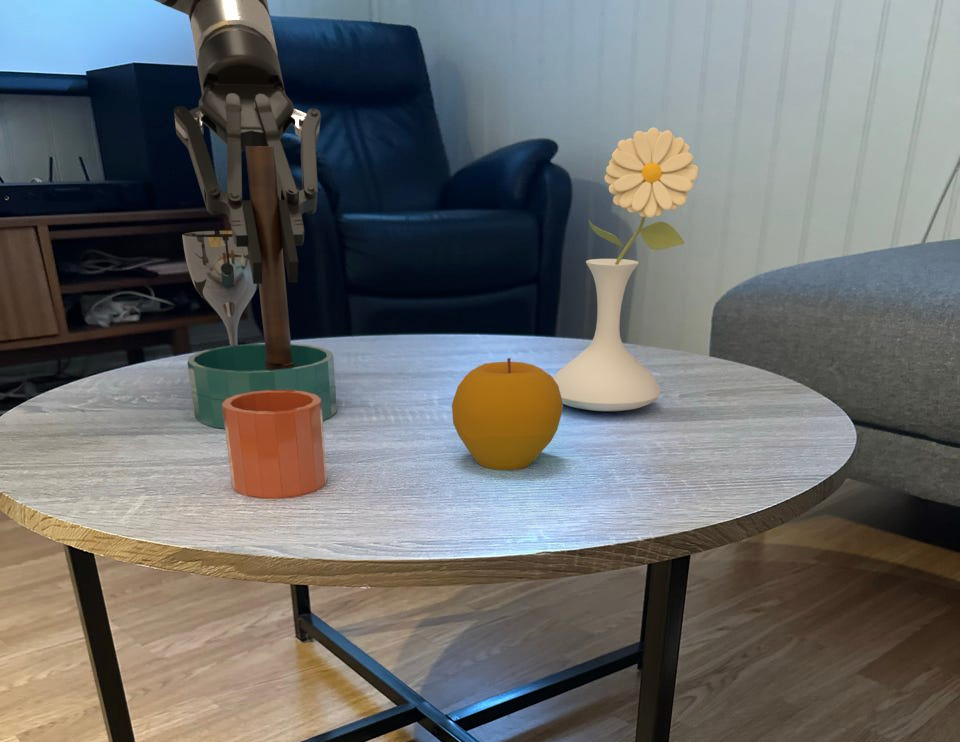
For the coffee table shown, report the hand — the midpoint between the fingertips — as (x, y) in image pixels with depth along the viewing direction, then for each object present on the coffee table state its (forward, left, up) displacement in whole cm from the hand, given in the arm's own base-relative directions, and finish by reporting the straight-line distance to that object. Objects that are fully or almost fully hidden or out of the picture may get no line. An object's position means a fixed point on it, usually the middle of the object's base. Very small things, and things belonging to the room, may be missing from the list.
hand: (275, 272), depth 81 cm
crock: (+14, -12, -14) cm, 23 cm away
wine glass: (-22, +9, -14) cm, 27 cm away
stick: (-3, +2, -11) cm, 12 cm away
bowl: (-4, 0, -14) cm, 14 cm away
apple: (+23, +4, -14) cm, 28 cm away
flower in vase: (+17, +27, -14) cm, 35 cm away
